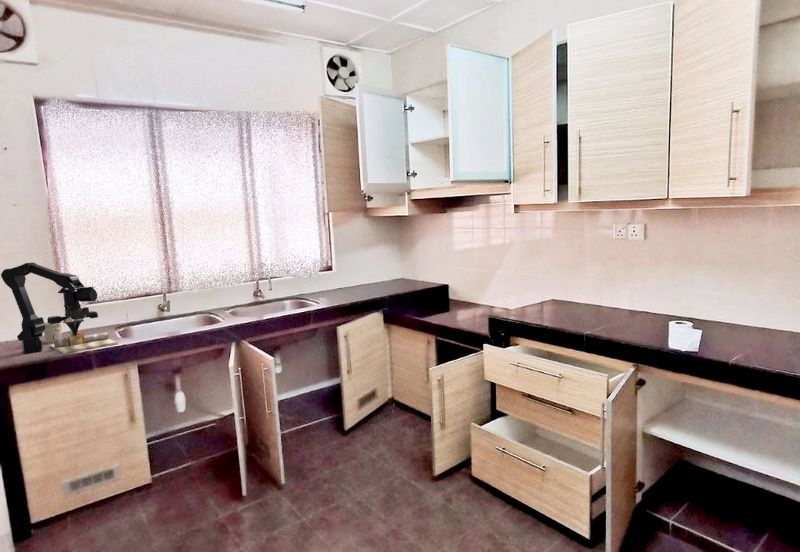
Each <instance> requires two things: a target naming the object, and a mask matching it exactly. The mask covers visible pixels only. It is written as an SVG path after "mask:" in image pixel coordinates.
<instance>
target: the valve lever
mask: <svg viewBox="0 0 800 552" xmlns="http://www.w3.org/2000/svg"><path fill="white" fill-rule="evenodd" d="M70 335H73V333H72V332H70ZM84 335H85V332H84V331H79V330H78V331H77V335H76V336H78V337H80V336H84Z"/></svg>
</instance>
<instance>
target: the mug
mask: <svg viewBox="0 0 800 552" xmlns="http://www.w3.org/2000/svg"><path fill="white" fill-rule="evenodd" d="M44 323H45V324H46V325H45V330H44V332H43V334H44V338H45V342H46V344H51V343H50V342H54V341H57V340H62V334H63V333H62V331H63V321H61V322H60V323H56V324H50V323H48V321H47V322H44Z"/></svg>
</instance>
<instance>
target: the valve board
mask: <svg viewBox="0 0 800 552" xmlns="http://www.w3.org/2000/svg"><path fill="white" fill-rule="evenodd" d="M118 342H119V341H116V340H113V339H110V338H109V333H108V331H106V332H102V333H101V332H100V333H94V334H90V335H85V334H84V336H80V337H78V336H74V335H71V334H68V335H66V337H64V338H63V339H61V340H57V341H54V343H52V344H49V348H50V349H54V350H55V351H58V352H60V353H61V354H69V353H70V354H71V353H75V352H81V351H87V350H91V349H98V348H103V347H102V346H104V347H108V346H107V345H110V346H113V345H112V344H115V345H118V344H119V343H118ZM117 343H118V344H117Z"/></svg>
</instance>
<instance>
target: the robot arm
mask: <svg viewBox="0 0 800 552" xmlns="http://www.w3.org/2000/svg"><path fill="white" fill-rule="evenodd" d="M30 274H33V275H36V276H39V277H42V278H44V279H48V280H50V281H53V282H54V283H55V284H56V285H57V286H59V287H61V288H60V290H59V291H58V292H57V293H58V294H62V295H63V308H64V312H65V313H64V316H60V315H54V316H53V315H52V316H48V317H47V319H46V320H47V322H48V323H50V324H56V323H60V322H61V321H62V324H66V326H67V327H68V328H69V330H70V333H73V335H74V336H76V335H77V331H79V327H80V325H81V324H82V323H83V322H85V319H86V318H89V319H98V318H99V315H98V314H99V313H98V312H97V311H94V310H91V311H90V310H89V309H90V308H89V307H83V308H82V307H81V304H80V302H81V303H86V302H96V300H97V298H98V292H97V291H96V289H95V287H94V286H87V287H86V286H85V284H83V282H82V281H81V280H80V278H79V276H78V275H77V274H71V273H65V272H64V273H63V272H58V271H57V270H55V269H54V270H53V269H51V268H48V267H46V266H43V265H40V264H37V263H36V262H33V261H32V262H26V263H23V264H21V265H18V266H15V267H12V268H5V269H3V270H2V272H1V274H0V278H1V279H2V281H3V282H4V284H5V285H6V286H7V287H9V288H10V289H11V291H12V294H13V296H14V299H15V303H16V305H17V306H18V307H17V308H18V311H19V312H20V316H21V318H22V319H21V320H22V322H21V324H20V325H21V326H20V327H21V329H22V330H21V332H20V333H19V334H17V336H16V338H17V340H18V341H21V347H22V350H21V353H23V354H24V355H25V354H26V355H27V354H32V353H37V352H42V351H43V345H42V344H43V343H42V340H41V339H40V338H41V337H43V334H44V330H45V325H46V324H45V323H46V322H45V321H44V318H43V317H42V316H41V317H38V315H36V312H35V310H34V308H33V305H32V303H31V300H30V297H29V294H28V292H27V289H26V287H25V285H26V280H27V278H26V277H27V276H28V275H30Z"/></svg>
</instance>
